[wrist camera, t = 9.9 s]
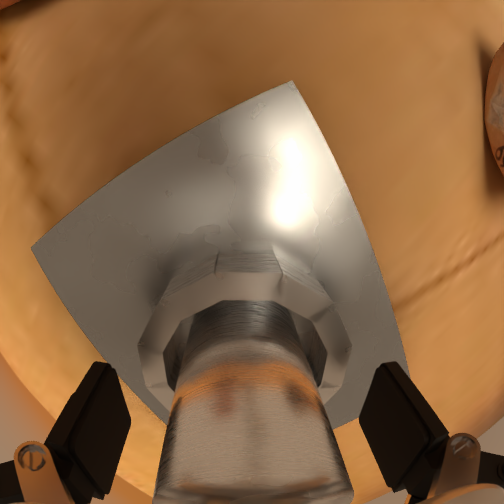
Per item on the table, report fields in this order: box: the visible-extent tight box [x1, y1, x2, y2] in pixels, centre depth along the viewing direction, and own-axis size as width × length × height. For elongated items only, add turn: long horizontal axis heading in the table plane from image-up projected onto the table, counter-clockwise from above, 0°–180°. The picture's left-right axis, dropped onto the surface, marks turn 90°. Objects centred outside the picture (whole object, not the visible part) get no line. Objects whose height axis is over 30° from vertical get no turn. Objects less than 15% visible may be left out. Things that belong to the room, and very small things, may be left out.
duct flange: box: [31, 81, 410, 430], centre depth 12 cm, size 18×14×3 cm
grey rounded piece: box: [152, 300, 354, 504], centre depth 9 cm, size 7×5×8 cm, turn 178°
